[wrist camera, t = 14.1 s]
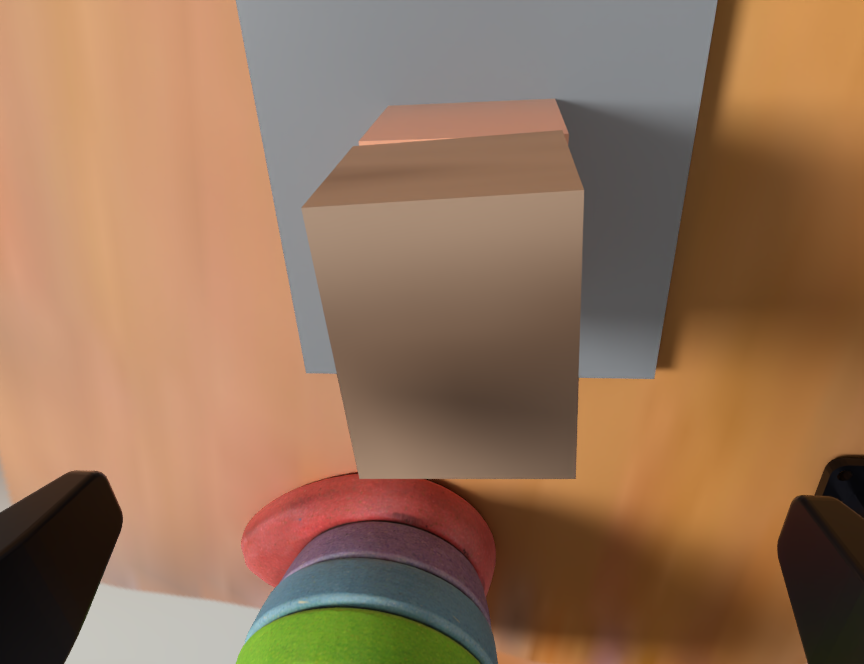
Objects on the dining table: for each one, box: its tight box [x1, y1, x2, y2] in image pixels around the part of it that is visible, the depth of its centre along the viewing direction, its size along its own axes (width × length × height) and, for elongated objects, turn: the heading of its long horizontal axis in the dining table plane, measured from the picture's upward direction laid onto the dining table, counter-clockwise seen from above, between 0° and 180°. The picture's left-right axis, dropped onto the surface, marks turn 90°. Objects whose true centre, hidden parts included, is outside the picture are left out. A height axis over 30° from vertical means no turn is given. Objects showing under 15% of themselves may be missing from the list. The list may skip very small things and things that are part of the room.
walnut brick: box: [301, 130, 584, 479], centre depth 13 cm, size 6×4×4 cm
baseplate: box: [236, 0, 718, 379], centre depth 18 cm, size 12×12×1 cm
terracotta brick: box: [359, 99, 569, 146], centre depth 16 cm, size 6×4×4 cm
